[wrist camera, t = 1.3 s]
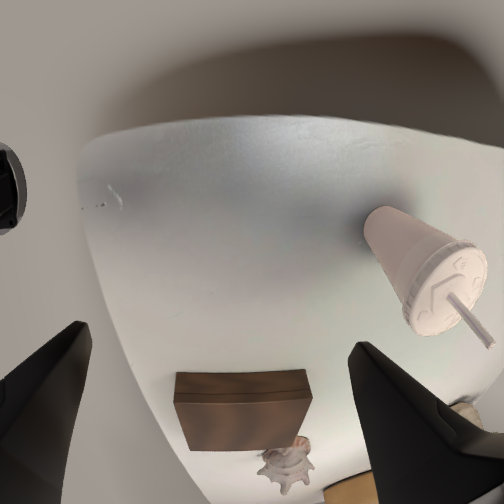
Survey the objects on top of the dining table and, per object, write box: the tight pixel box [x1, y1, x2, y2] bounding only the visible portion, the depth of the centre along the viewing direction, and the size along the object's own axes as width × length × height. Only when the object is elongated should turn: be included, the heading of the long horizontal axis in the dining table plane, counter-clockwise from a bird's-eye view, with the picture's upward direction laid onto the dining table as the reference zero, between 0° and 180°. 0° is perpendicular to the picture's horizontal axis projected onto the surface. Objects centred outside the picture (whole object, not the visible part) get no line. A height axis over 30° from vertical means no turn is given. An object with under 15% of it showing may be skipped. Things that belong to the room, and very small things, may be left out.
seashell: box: [257, 436, 315, 495], centre depth 37 cm, size 10×12×9 cm
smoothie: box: [363, 206, 495, 350], centre depth 16 cm, size 6×6×14 cm
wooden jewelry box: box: [173, 369, 313, 451], centre depth 30 cm, size 14×14×4 cm
